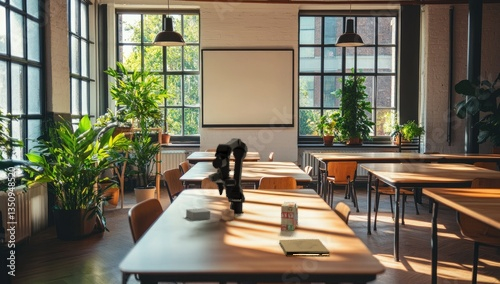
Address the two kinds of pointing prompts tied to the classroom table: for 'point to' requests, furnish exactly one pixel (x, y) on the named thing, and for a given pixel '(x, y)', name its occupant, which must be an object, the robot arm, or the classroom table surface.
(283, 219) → the printed carton
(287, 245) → the olive notebook
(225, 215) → the terracotta cube
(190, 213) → the base block
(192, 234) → the classroom table surface
